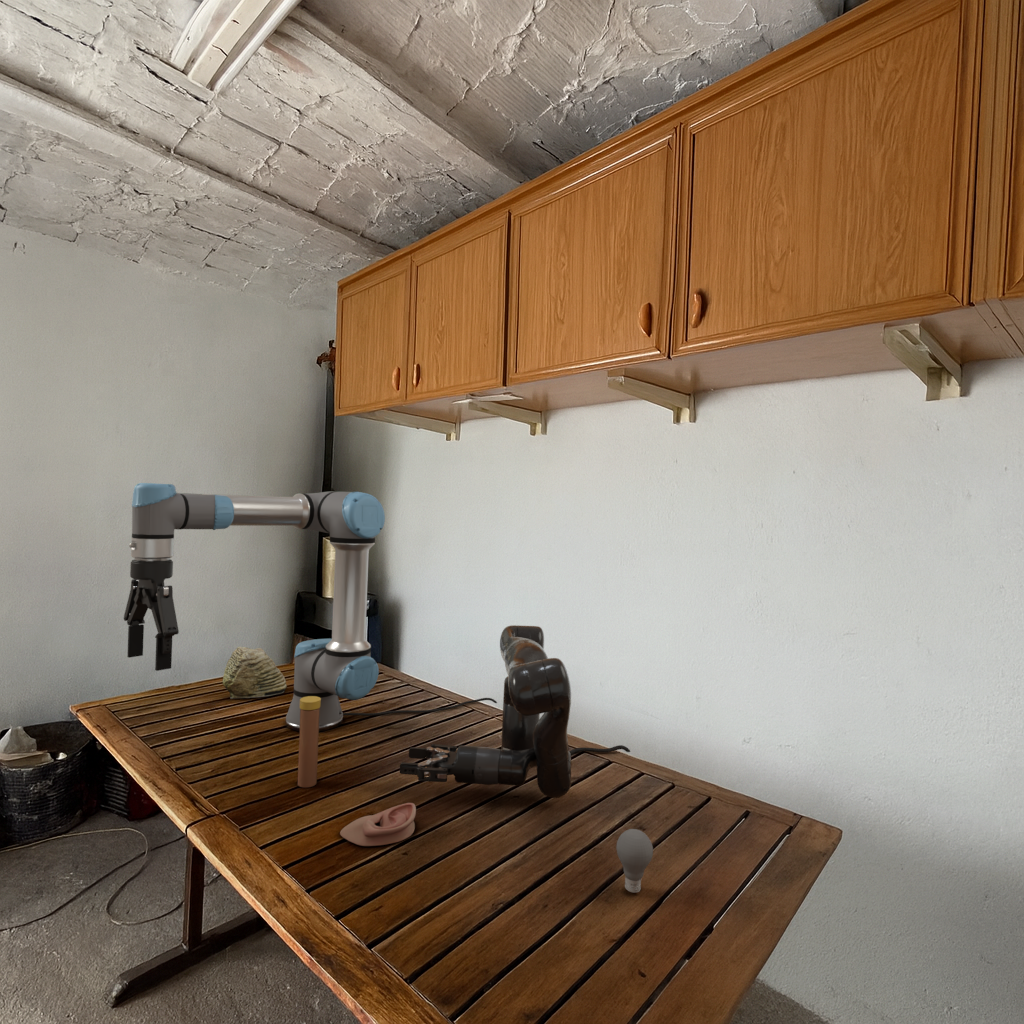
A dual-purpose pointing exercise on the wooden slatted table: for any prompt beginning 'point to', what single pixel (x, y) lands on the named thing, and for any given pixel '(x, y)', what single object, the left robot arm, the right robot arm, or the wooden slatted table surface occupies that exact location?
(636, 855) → the light bulb
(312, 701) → the lid
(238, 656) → the fossil
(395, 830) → the anatomical model
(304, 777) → the brown long cylinder
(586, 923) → the wooden slatted table surface
